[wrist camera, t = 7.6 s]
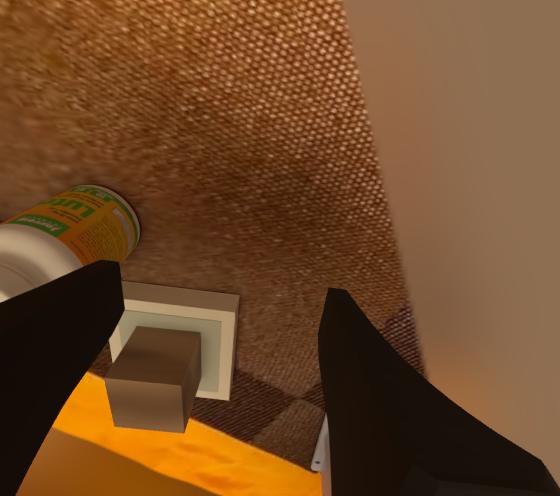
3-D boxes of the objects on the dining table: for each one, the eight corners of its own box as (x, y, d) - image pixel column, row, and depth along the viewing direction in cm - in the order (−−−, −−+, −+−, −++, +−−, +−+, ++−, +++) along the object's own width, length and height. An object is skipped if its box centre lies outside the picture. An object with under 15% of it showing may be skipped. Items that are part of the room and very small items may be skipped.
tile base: (232, 380, 28) (228, 401, 26) (128, 367, 28) (116, 388, 26) (239, 295, 24) (235, 313, 22) (116, 279, 24) (101, 297, 22)
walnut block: (201, 376, 25) (184, 433, 21) (142, 371, 25) (114, 426, 21) (200, 332, 23) (181, 385, 19) (136, 325, 23) (103, 377, 19)
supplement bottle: (127, 178, 20) (5, 254, 12) (152, 254, 23) (66, 363, 14) (45, 187, 21) (-129, 265, 12) (79, 260, 23) (-47, 369, 15)
